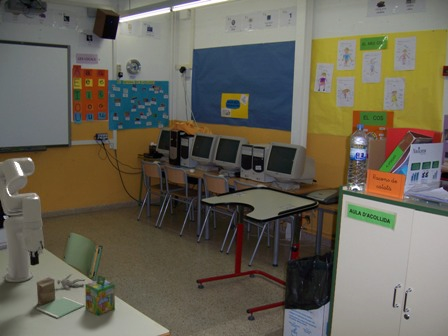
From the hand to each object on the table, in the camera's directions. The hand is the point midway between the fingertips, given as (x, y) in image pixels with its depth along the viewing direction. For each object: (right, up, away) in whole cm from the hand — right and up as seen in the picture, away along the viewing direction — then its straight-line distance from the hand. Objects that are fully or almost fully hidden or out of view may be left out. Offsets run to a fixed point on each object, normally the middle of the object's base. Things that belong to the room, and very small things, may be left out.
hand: (34, 264), depth 210 cm
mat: (+14, -18, -6) cm, 23 cm away
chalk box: (+31, -18, -7) cm, 37 cm away
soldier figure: (+11, -14, +16) cm, 24 cm away
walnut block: (+6, -17, -1) cm, 17 cm away
